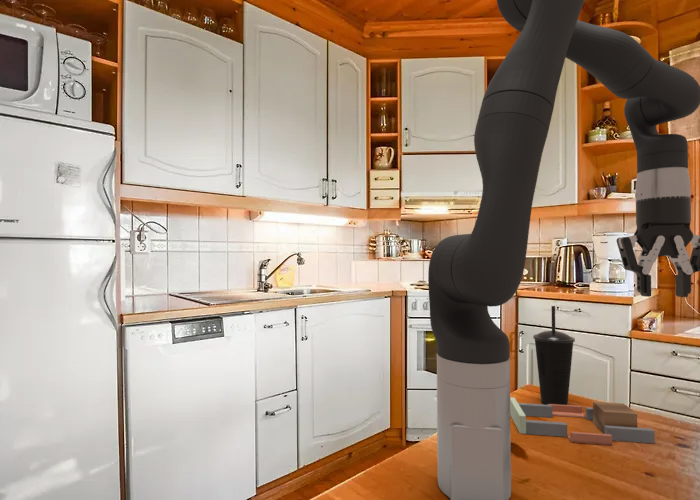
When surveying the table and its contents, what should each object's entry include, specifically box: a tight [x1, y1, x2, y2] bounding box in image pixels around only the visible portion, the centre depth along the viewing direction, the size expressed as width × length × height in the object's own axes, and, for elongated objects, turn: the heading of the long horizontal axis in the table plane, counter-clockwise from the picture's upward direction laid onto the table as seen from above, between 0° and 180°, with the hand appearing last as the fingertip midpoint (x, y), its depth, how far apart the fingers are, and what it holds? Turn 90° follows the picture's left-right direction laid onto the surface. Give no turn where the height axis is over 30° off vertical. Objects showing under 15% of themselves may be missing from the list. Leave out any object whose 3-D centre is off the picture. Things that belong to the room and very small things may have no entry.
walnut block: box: [592, 401, 638, 434], centre depth 71 cm, size 5×5×4 cm
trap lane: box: [518, 402, 656, 446], centre depth 72 cm, size 13×20×2 cm
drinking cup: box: [532, 305, 576, 405], centre depth 84 cm, size 8×8×20 cm
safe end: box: [510, 396, 527, 435], centre depth 74 cm, size 9×1×3 cm, turn 169°
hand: (663, 296), depth 70 cm, fingers open, 5 cm apart
